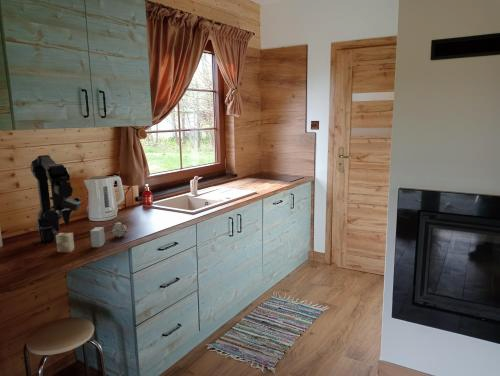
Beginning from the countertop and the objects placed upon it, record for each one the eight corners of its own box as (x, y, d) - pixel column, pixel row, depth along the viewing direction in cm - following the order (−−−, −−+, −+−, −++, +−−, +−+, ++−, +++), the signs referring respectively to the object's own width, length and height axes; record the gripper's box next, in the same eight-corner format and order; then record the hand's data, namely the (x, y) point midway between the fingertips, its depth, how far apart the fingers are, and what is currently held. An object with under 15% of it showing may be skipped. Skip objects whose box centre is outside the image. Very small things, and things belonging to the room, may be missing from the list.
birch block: (57, 252, 188) (55, 235, 187) (62, 249, 192) (60, 232, 191) (70, 252, 188) (68, 235, 187) (74, 249, 192) (72, 232, 190)
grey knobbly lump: (119, 242, 211) (119, 224, 216) (131, 238, 208) (132, 220, 212) (105, 239, 204) (106, 220, 208) (118, 234, 201) (119, 215, 205)
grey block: (100, 247, 194) (98, 231, 193) (91, 247, 195) (90, 231, 193) (105, 242, 200) (103, 227, 199) (97, 242, 201) (95, 227, 199)
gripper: (67, 198, 169) (71, 234, 172) (86, 189, 188) (89, 222, 191) (40, 198, 170) (45, 234, 173) (61, 189, 188) (65, 222, 191)
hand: (62, 228), depth 182 cm, fingers open, 9 cm apart
